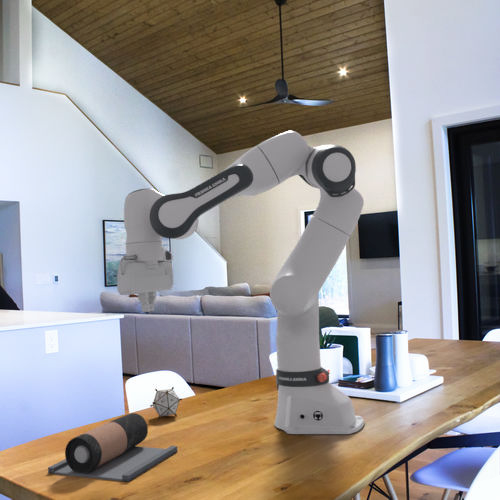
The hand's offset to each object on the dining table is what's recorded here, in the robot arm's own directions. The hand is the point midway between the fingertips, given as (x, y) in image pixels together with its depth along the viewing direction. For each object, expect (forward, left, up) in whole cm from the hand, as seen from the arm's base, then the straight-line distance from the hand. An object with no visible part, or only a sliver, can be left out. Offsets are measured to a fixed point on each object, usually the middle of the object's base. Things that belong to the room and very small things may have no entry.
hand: (148, 311), depth 142 cm
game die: (+9, -20, -32) cm, 38 cm away
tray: (0, +16, -31) cm, 35 cm away
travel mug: (+2, +6, -27) cm, 28 cm away
